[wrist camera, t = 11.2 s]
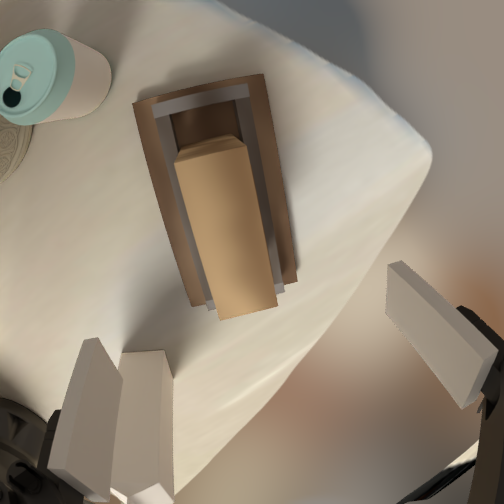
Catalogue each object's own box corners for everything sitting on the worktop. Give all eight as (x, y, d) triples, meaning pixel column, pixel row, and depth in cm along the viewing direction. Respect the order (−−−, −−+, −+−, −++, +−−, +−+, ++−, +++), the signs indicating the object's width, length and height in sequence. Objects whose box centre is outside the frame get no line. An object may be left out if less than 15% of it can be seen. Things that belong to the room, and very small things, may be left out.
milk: (164, 349, 39) (161, 511, 19) (173, 380, 41) (178, 528, 22) (120, 352, 38) (96, 508, 18) (132, 382, 41) (121, 526, 21)
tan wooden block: (213, 261, 33) (220, 320, 24) (182, 145, 27) (173, 163, 19) (257, 249, 33) (280, 305, 24) (233, 133, 28) (249, 145, 19)
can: (116, 109, 26) (68, 112, 15) (52, 124, 25) (-15, 140, 15) (111, 41, 23) (65, 9, 12) (47, 60, 22) (-20, 46, 12)
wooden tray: (191, 299, 36) (191, 320, 33) (135, 103, 26) (126, 103, 23) (294, 274, 37) (304, 293, 33) (260, 75, 27) (269, 70, 23)
